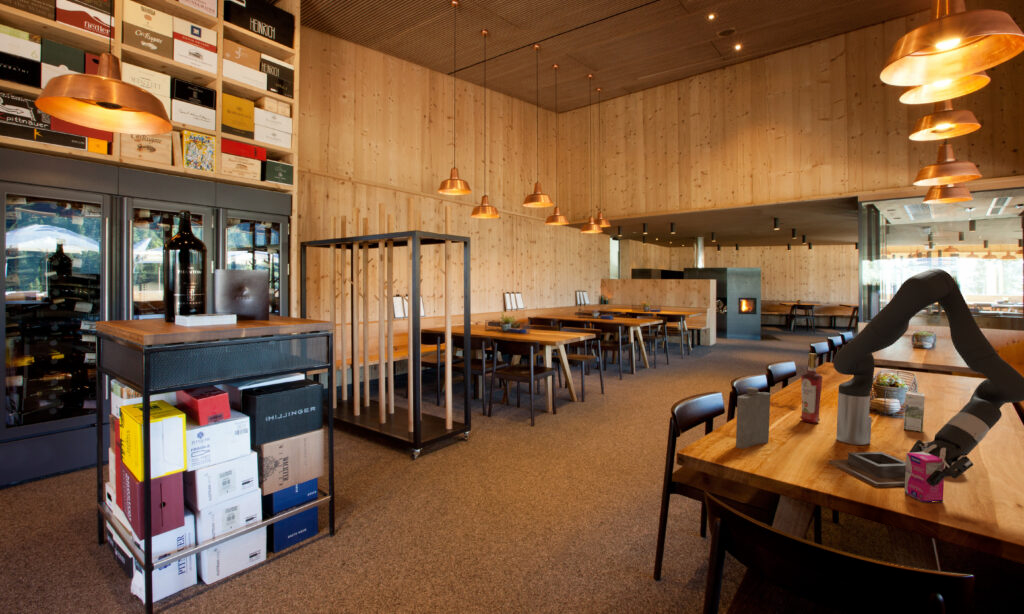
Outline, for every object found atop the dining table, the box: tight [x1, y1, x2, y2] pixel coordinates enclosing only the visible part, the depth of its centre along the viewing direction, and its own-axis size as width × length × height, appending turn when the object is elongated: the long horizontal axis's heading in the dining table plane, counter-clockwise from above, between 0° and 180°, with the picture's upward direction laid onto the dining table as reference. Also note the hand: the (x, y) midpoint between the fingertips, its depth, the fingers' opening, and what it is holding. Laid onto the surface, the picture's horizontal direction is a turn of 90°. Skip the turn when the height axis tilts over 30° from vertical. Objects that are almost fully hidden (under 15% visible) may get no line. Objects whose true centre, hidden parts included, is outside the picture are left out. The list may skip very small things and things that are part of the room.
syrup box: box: [903, 390, 926, 433], centre depth 187 cm, size 6×6×14 cm
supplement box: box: [904, 452, 945, 503], centre depth 128 cm, size 6×6×12 cm
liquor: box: [799, 352, 823, 424], centre depth 197 cm, size 7×7×28 cm
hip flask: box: [735, 386, 771, 450], centre depth 169 cm, size 16×4×20 cm, turn 120°
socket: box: [828, 451, 906, 488], centre depth 144 cm, size 18×18×4 cm
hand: (918, 478), depth 128 cm, fingers closed on supplement box, 5 cm apart
